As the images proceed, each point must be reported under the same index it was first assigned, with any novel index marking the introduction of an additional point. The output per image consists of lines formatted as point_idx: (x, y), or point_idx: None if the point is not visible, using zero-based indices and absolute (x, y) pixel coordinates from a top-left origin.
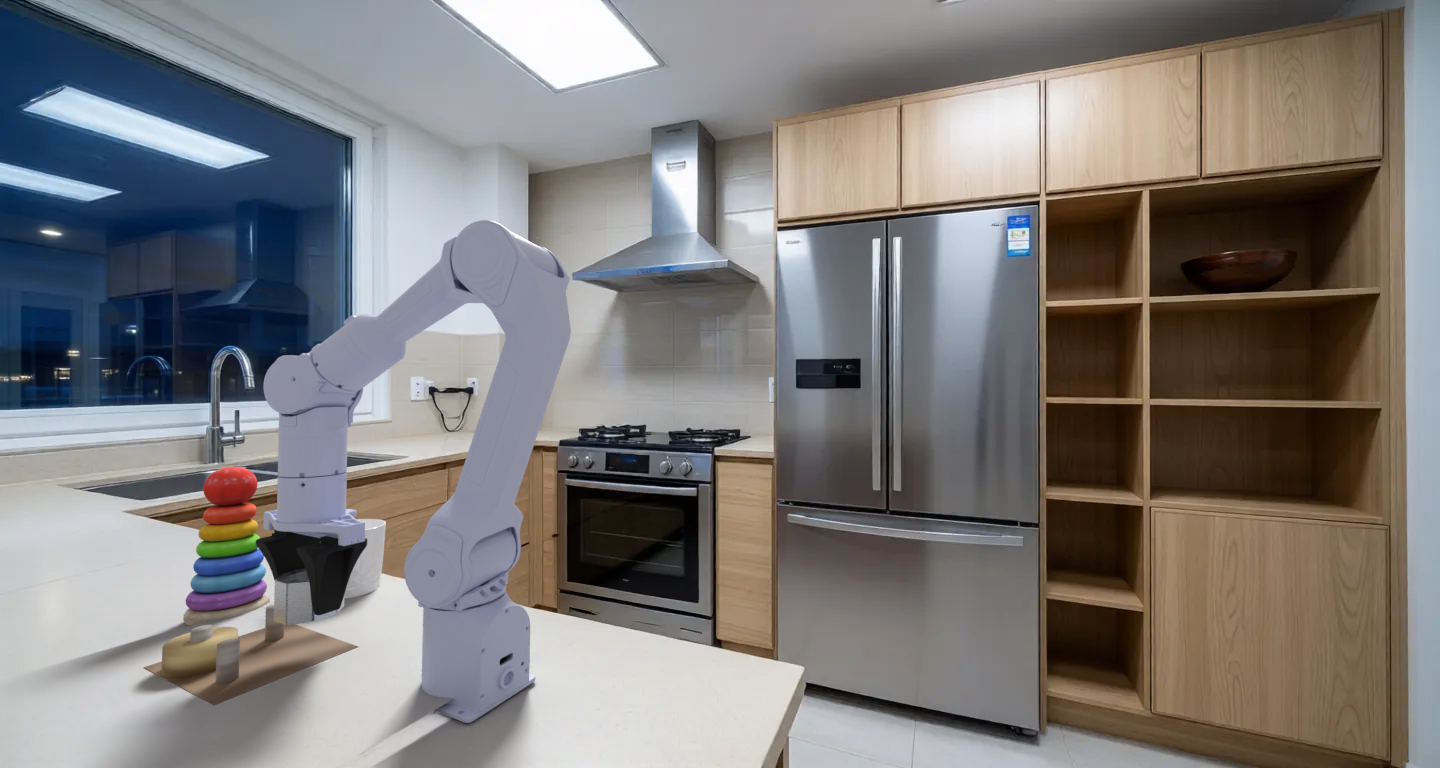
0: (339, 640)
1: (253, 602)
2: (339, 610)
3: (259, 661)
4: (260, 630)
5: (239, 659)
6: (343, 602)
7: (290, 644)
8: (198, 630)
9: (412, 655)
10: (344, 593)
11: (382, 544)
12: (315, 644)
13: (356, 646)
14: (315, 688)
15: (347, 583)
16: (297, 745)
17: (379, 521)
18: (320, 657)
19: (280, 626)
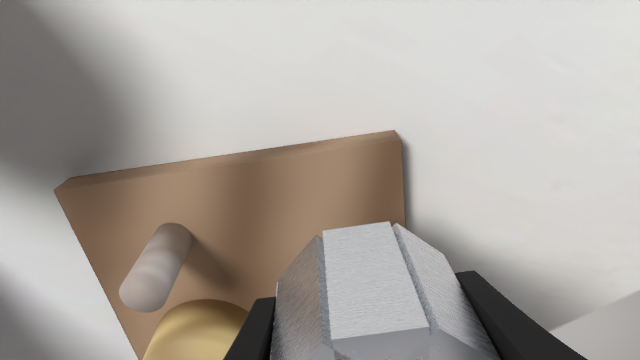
0: (318, 153)
1: None
2: (432, 247)
3: None
4: (86, 242)
5: (247, 302)
6: (404, 234)
7: (246, 228)
8: None
9: (507, 38)
10: (502, 295)
11: None
12: (294, 195)
13: (395, 142)
14: (450, 228)
15: (530, 319)
16: (596, 291)
17: None
18: (382, 212)
19: (181, 252)
